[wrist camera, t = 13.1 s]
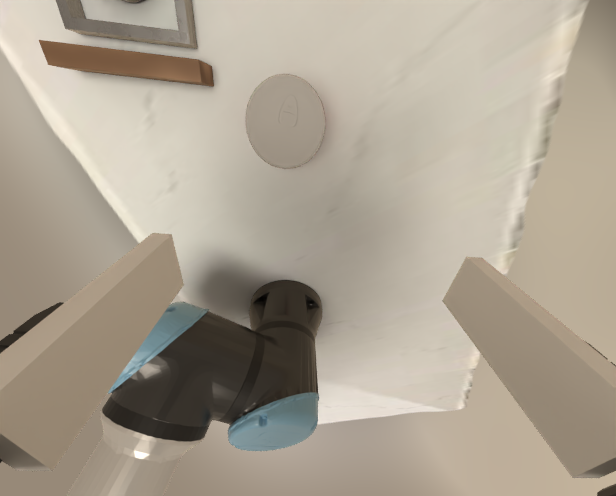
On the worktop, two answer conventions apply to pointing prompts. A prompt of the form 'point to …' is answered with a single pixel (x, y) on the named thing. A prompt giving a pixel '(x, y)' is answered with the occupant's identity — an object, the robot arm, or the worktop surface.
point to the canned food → (285, 121)
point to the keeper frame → (132, 26)
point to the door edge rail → (127, 63)
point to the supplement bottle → (132, 0)
